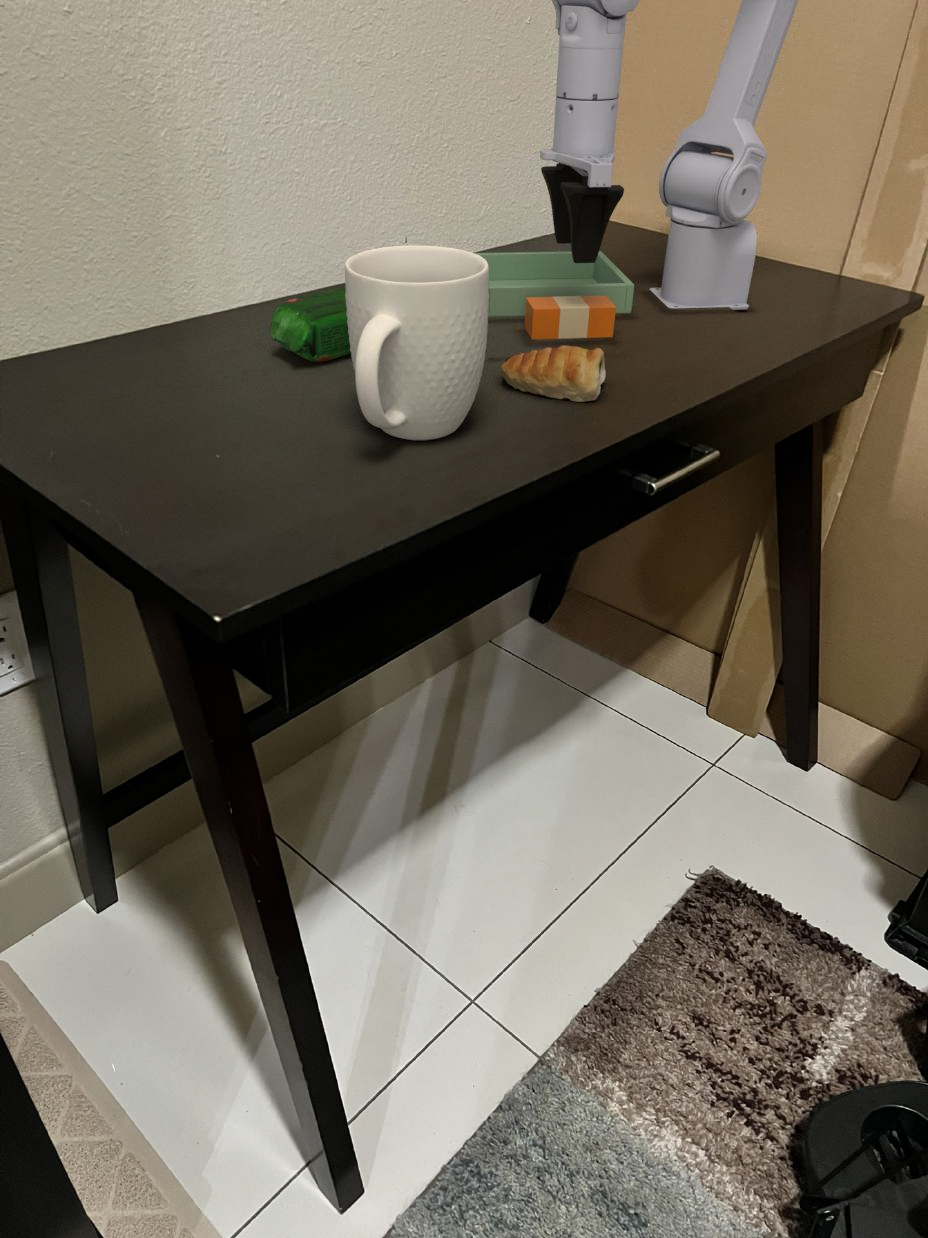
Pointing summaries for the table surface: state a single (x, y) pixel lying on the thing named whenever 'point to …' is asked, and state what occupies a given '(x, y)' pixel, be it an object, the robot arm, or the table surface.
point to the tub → (551, 280)
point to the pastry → (558, 372)
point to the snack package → (313, 325)
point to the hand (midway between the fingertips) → (575, 252)
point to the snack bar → (569, 317)
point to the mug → (417, 336)
